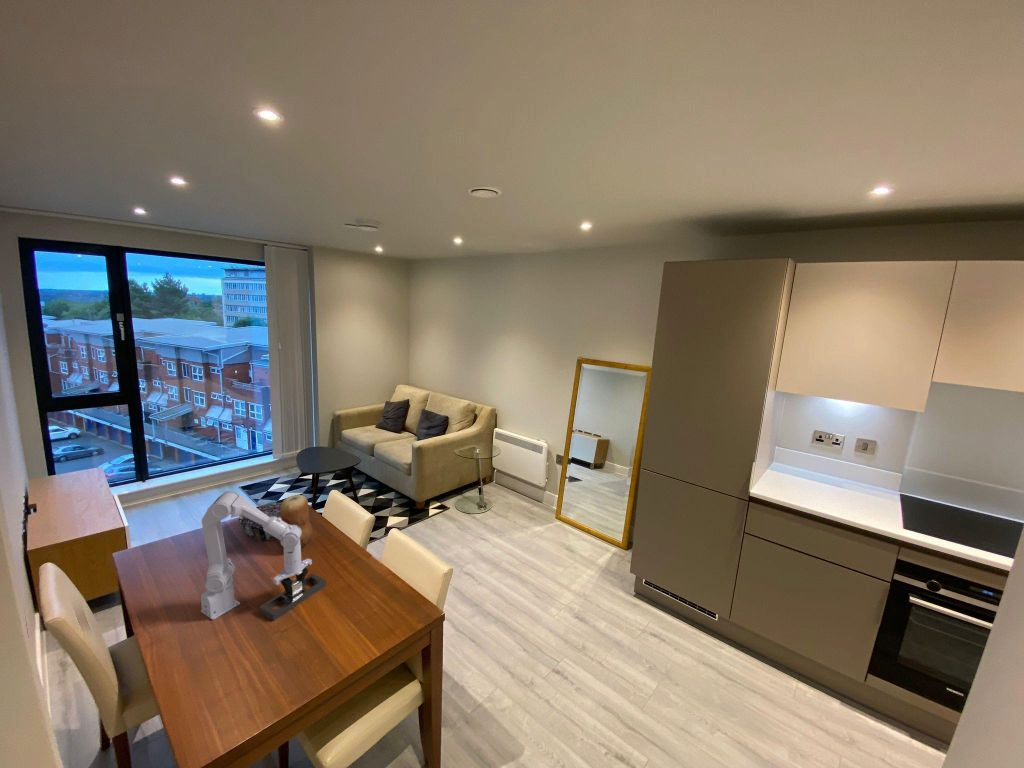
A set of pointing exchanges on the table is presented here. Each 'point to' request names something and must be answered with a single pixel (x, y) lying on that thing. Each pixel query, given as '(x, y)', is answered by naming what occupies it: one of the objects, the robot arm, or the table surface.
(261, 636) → the table surface
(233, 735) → the table surface
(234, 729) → the table surface
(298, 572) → the robot arm
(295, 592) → the block
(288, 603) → the rack rail
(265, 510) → the decorative bowl
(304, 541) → the butternut squash
